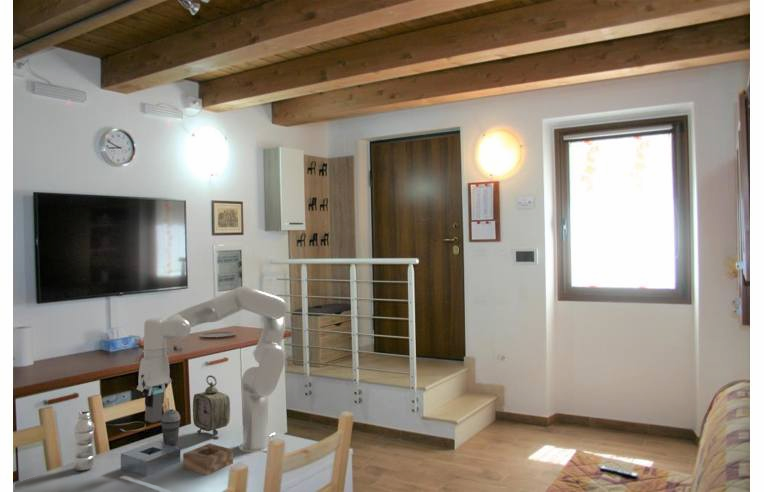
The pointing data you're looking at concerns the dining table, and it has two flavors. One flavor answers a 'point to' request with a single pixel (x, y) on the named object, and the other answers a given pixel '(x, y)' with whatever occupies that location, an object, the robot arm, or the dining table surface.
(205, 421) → the tabletop clock
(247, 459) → the dining table surface
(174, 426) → the beverage cup
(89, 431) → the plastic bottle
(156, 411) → the plug
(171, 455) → the socket block
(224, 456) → the wooden square hole block
